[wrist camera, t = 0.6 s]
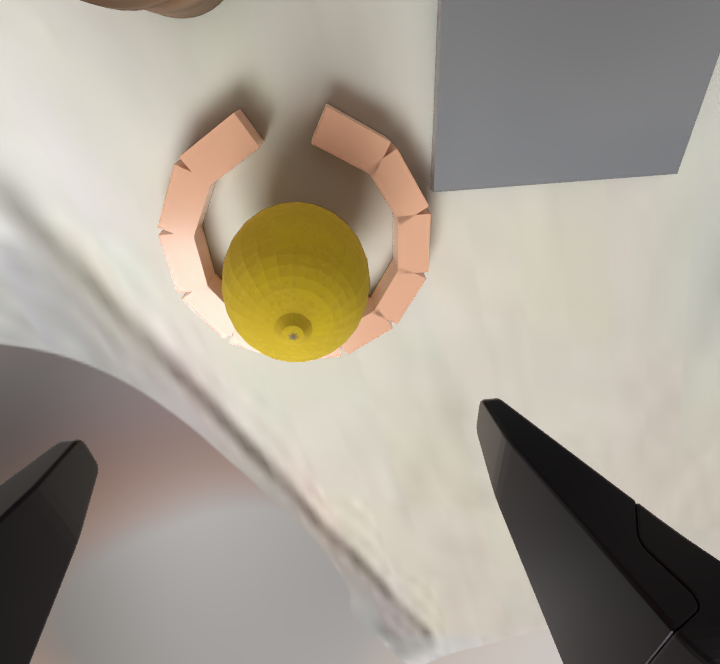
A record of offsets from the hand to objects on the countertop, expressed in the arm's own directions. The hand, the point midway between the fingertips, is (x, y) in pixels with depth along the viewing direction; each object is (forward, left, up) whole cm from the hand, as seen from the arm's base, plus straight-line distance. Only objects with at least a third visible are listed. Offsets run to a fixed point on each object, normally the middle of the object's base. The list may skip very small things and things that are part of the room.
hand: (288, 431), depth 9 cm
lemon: (0, 0, -12) cm, 12 cm away
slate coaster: (-11, -8, -12) cm, 18 cm away
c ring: (0, 0, -12) cm, 12 cm away
